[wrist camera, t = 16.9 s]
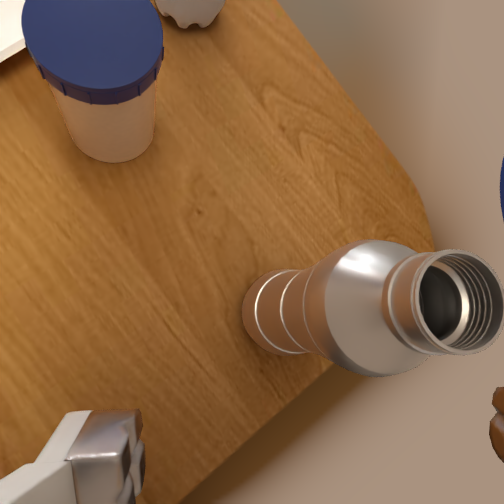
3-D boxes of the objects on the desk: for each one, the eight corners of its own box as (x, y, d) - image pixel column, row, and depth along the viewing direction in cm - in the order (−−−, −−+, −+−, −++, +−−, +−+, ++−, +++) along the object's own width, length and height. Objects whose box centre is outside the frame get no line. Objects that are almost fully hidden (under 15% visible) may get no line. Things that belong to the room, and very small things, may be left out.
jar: (129, 73, 33) (122, -35, 23) (169, 143, 32) (180, 65, 23) (50, 102, 31) (4, -2, 21) (92, 176, 30) (67, 107, 21)
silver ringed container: (234, 272, 32) (364, 202, 13) (312, 273, 34) (528, 212, 15) (235, 354, 31) (379, 410, 12) (316, 351, 33) (554, 394, 14)
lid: (125, -22, 24) (124, -47, 22) (184, 80, 24) (187, 62, 22) (5, 12, 22) (-6, -12, 20) (69, 124, 22) (62, 108, 20)
